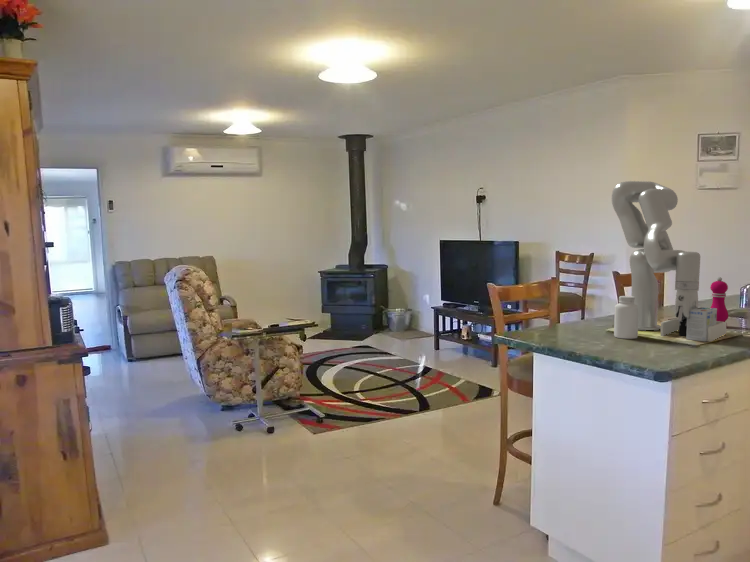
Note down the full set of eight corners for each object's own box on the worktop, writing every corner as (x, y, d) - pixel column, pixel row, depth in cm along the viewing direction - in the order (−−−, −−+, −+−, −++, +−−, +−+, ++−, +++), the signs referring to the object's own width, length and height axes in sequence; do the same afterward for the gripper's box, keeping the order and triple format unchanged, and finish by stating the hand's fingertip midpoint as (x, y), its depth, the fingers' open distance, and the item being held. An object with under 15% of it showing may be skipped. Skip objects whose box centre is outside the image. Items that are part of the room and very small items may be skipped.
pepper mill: (703, 325, 234) (705, 276, 232) (714, 324, 237) (716, 276, 235) (720, 328, 227) (722, 278, 226) (732, 327, 230) (734, 277, 229)
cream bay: (709, 341, 201) (710, 327, 201) (660, 335, 213) (660, 322, 213) (725, 335, 212) (726, 322, 212) (678, 330, 225) (678, 317, 224)
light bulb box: (696, 335, 213) (697, 306, 212) (716, 337, 208) (717, 308, 207) (685, 339, 205) (686, 309, 205) (706, 341, 201) (707, 311, 200)
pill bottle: (635, 335, 213) (636, 295, 212) (639, 339, 206) (640, 298, 204) (612, 335, 216) (613, 295, 214) (615, 338, 208) (616, 297, 207)
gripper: (690, 288, 199) (687, 340, 201) (705, 285, 209) (702, 335, 211) (667, 286, 205) (665, 337, 207) (683, 283, 215) (681, 332, 217)
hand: (684, 336), depth 209 cm, fingers closed
